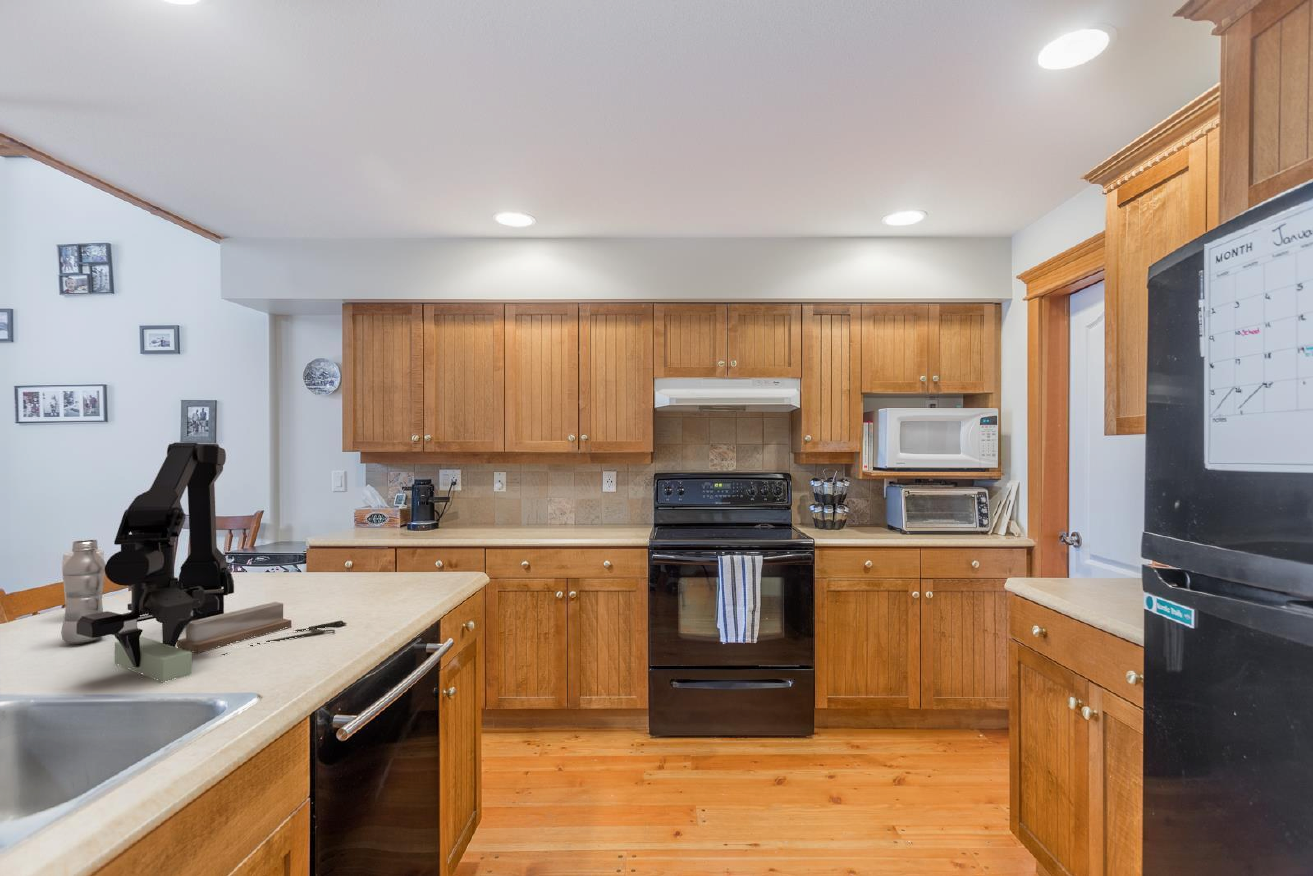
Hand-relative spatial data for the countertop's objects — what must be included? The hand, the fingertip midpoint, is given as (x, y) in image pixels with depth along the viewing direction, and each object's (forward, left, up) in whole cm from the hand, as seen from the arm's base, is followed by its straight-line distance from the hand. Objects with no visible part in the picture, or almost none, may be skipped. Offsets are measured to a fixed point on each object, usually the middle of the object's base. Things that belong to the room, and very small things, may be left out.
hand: (152, 662), depth 105 cm
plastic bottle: (-29, +2, -1) cm, 29 cm away
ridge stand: (-5, +17, -1) cm, 18 cm away
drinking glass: (-50, +10, -1) cm, 51 cm away
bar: (0, 0, -1) cm, 1 cm away
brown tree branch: (+5, +20, -2) cm, 21 cm away
